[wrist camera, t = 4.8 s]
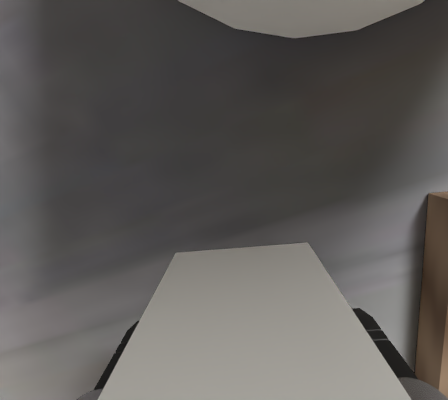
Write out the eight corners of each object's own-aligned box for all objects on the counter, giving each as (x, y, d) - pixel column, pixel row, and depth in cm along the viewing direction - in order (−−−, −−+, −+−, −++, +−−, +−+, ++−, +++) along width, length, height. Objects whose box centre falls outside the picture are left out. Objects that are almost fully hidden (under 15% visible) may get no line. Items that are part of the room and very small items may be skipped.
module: (175, 252, 12) (64, 461, 4) (307, 242, 12) (448, 455, 4) (189, 335, 13) (118, 623, 5) (310, 328, 13) (426, 633, 5)
